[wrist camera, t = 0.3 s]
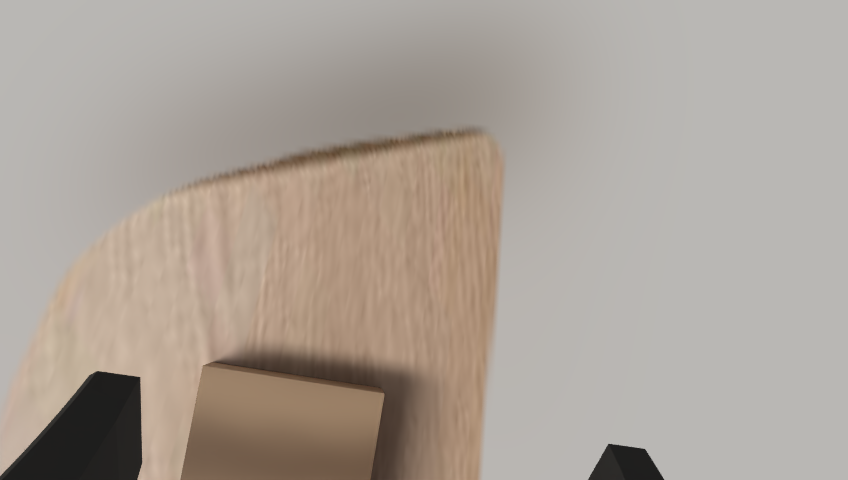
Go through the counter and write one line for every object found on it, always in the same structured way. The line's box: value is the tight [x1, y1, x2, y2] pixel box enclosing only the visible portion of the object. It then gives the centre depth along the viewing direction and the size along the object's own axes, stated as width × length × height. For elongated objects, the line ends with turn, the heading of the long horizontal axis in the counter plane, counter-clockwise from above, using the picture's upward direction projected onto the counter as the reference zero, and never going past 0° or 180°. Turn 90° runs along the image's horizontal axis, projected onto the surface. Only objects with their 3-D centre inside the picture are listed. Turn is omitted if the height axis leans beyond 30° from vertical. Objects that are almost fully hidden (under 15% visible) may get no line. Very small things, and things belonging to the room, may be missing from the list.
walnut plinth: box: [181, 362, 385, 480], centre depth 38 cm, size 9×9×3 cm
